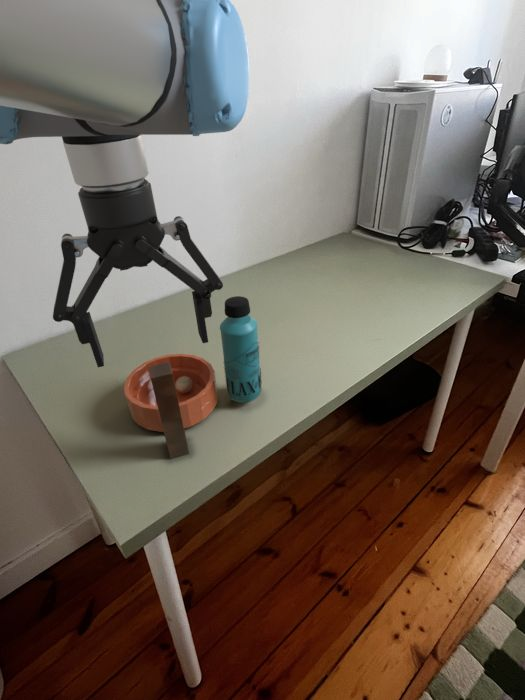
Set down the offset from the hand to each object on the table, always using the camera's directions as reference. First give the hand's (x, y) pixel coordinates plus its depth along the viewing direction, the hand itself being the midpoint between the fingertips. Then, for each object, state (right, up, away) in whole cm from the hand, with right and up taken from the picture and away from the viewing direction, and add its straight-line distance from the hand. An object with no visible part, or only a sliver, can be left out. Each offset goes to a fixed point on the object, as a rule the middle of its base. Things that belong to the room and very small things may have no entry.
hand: (153, 349), depth 58 cm
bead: (0, -6, +22) cm, 23 cm away
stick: (+1, -16, +12) cm, 20 cm away
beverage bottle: (+11, -9, +22) cm, 26 cm away
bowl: (-1, -10, +21) cm, 24 cm away
